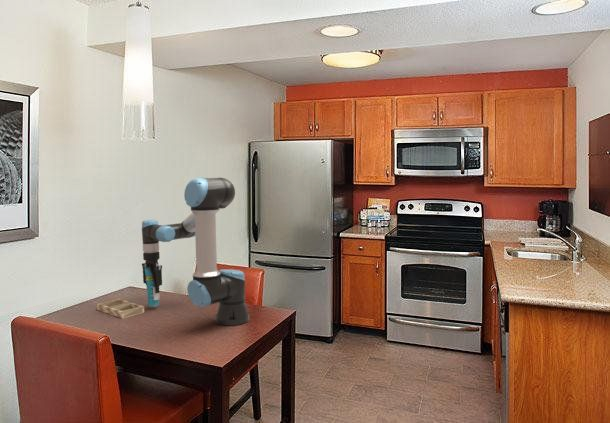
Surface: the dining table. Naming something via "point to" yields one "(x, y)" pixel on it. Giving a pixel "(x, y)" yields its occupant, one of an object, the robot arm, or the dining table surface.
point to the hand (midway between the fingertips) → (153, 298)
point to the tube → (150, 288)
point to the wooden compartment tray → (120, 308)
